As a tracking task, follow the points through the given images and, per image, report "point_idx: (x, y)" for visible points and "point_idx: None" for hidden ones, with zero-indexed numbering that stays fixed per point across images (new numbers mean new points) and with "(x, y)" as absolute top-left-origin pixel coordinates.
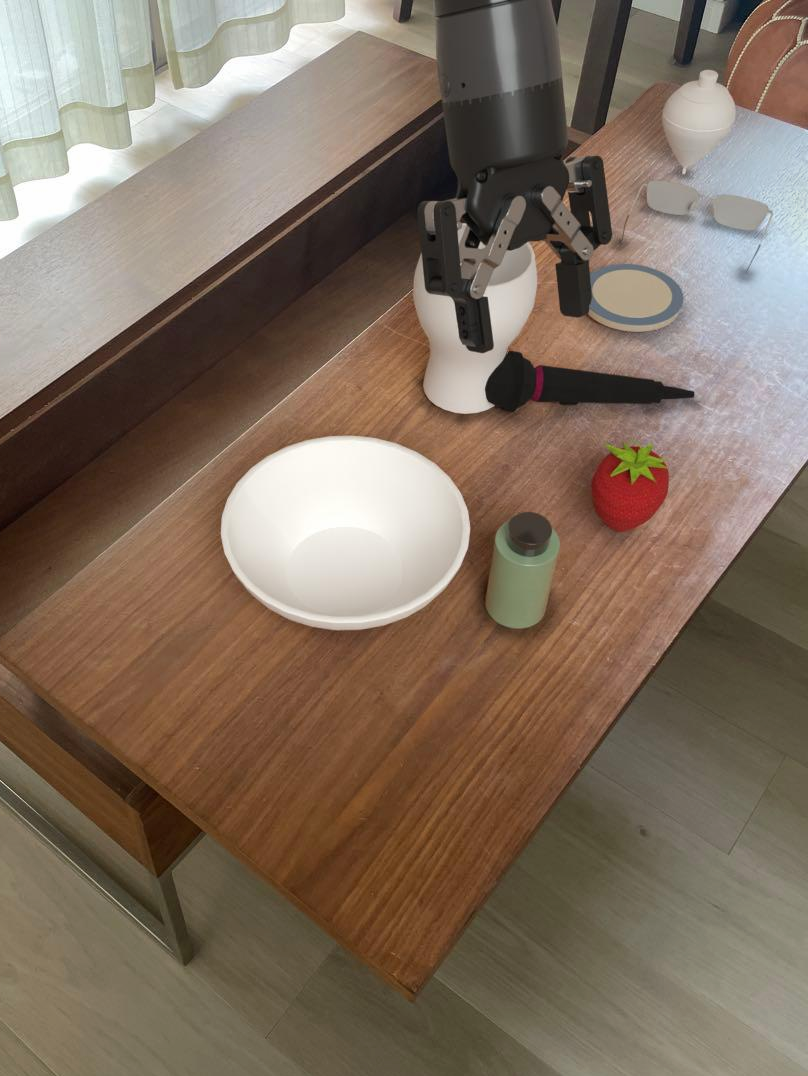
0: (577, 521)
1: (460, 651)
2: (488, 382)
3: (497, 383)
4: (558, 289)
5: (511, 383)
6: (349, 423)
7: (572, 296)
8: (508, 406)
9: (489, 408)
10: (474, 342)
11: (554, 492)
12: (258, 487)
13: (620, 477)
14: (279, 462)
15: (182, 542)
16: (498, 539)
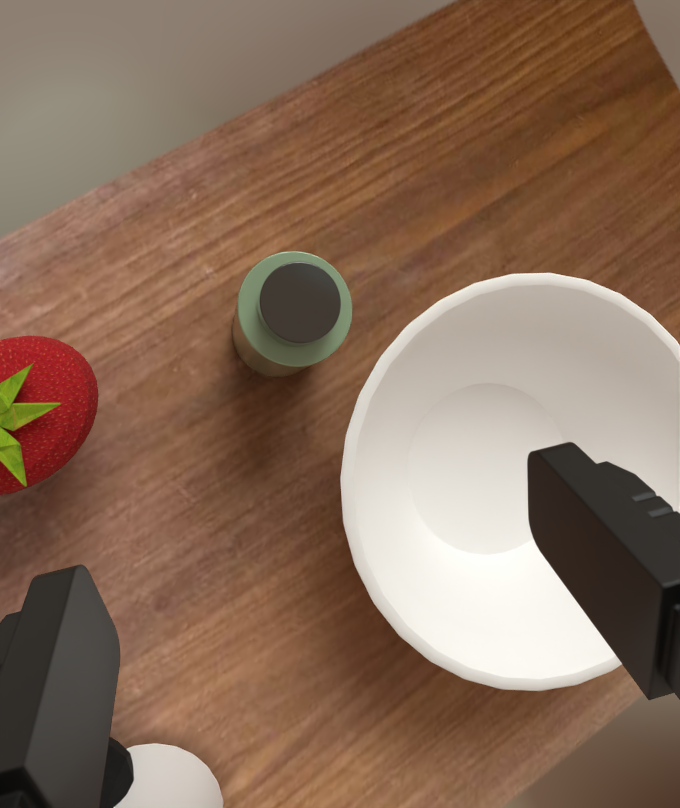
0: (103, 451)
1: (383, 287)
2: (126, 788)
3: (112, 777)
4: (108, 735)
5: None
6: (369, 779)
7: (82, 655)
8: None
9: (127, 748)
10: (622, 469)
11: (108, 523)
12: None
13: (37, 402)
14: (587, 657)
15: None
16: (343, 330)
